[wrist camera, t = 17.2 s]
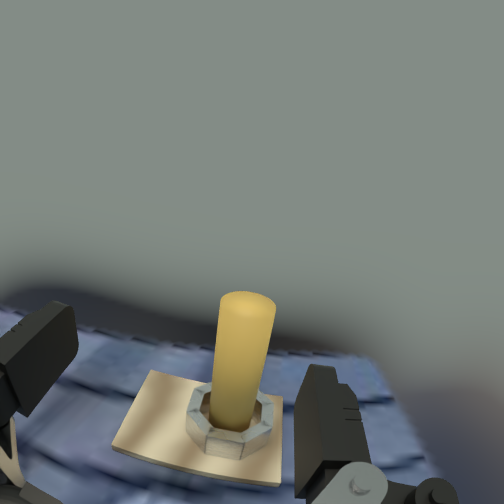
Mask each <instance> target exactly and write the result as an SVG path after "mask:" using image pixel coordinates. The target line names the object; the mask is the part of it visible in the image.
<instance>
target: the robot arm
mask: <svg viewBox="0 0 504 504" xmlns="http://www.w3.org/2000/svg"><path fill="white" fill-rule="evenodd" d="M78 346H79V342H78V335H77V329H76V322H75V315H74V310H73V308H72V307H71V306H68V305H65V304H63V303H60V302H57V301H51V302H50V303H48V304H47V305H46V306H45V307H43V308H42V309H41V310H37V311H35V312H33V313H31V314H28V315H26V316H25V317H24V318H23V319H22V320H21V321H19V322H18V325H17V324H16V325H15V326H13V327H12V328H11V331H8V332H7V333H5V334H4V335H3V336H2V337H1V338H0V504H63V503H62V502H61V501H59V500H58V499H56V498H54V497H52V496H50V495H49V494H47V493H45V492H43V491H42V490H40V489H38V488H37V487H35V486H33V485H32V484H30V483H28V482H27V481H26V482H25V480H24V477H23V475H22V473H21V471H20V468H19V464H18V456H17V446H16V435H15V421H14V417H13V414H14V413H15V412H16V411H17V412H19V413H20V414H22V415H24V416H25V417H27V418H28V416H29V415H30V414H31V412H32V411H33V410H34V408H35V407H36V406H37V405H38V403H39V402H40V401H41V399H42V398H43V397H44V395H45V394H46V393H47V392H48V390H49V389H50V388H51V387H52V385H53V384H54V383H55V381H56V380H57V379H58V378H59V376H60V375H61V374H62V373H63V372H64V370H65V369H66V368H67V367H68V365H69V364H70V363H71V362H72V361H73V359H74V358H75V356H76V354H77V351H78ZM361 420H362V418H361V414H360V412H359V406H358V402H357V397H356V395H355V394H354V392H353V391H352V390H351V388H350V387H349V386H348V384H340V383H338V379H337V375H336V370H335V368H334V367H332V366H323V365H316V364H310V366H309V367H308V370H307V372H306V375H305V377H304V380H303V383H302V385H301V388H300V390H299V393H298V395H297V398H296V402H295V407H294V460H295V498H299V499H306V504H459V501H458V497H457V494H456V491H455V489H454V487H453V486H452V485H451V484H450V483H449V482H447V481H446V480H444V479H441V478H429V479H426V480H424V481H423V482H422V483H421V484H420V485H418V486H417V487H416V486H411V485H405V484H400V483H395V482H392V481H389V480H387V479H386V477H385V475H384V473H383V472H382V471H381V470H380V469H379V468H377V467H376V466H374V465H372V463H371V459H370V454H369V450H368V445H367V440H366V436H365V431H364V427H363V423H362V422H361Z"/></svg>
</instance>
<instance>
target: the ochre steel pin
mask: <svg viewBox="0 0 504 504" xmlns="http://www.w3.org/2000/svg"><path fill="white" fill-rule="evenodd" d="M275 312H276V306H275V304H274V303H273V301H271V300H270V299H268V298H267V297H265V296H263V295H260V294H257V293H253V292H246V291H237V292H231V293H228V294H226V295H224V296H223V297H222V298H221V302H220V311H219V320H218V329H217V338H216V347H215V357H214V366H213V376H212V386H211V397H210V407H209V418H208V422H209V423H210V424H211V425H212V426H213V427H214V428H218V429H223V430H228V431H234V432H239V433H241V432H243V431H245V430H247V429H249V426H250V422H251V418H252V414H253V410H254V406H255V401H256V397H257V393H258V389H259V384H260V380H261V376H262V371H263V367H264V363H265V358H266V354H267V349H268V345H269V340H270V335H271V331H272V326H273V321H274V316H275Z"/></svg>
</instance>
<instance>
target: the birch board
mask: <svg viewBox="0 0 504 504" xmlns="http://www.w3.org/2000/svg"><path fill="white" fill-rule="evenodd" d="M204 384H207V383H202V382H198V381H193V380H189V379H185V378H181V377H176V376H172V375H169V374H165V373H161V372H157V371H154V370H150V372H149V374H148V376H147V378H146V380H145V381H144V383H143V385H142V387H141V389H140V391H139V393H138V395H137V396H136V398H135V400H134V402H133V404H132V406H131V408H130V410H129V412H128V413H127V415H126V417H125V419H124V421H123V423H122V425H121V427H120V429H119V431H118V433H117V435H116V437H115V438H114V440H113V442H112V444H111V445H112V449H113V450H115V451H118V452H121V453H123V454H126V455H129V456H132V457H135V458H138V459H141V460H144V461H147V462H151V463H154V464H157V465H161V466H164V467H168V468H172V469H176V470H179V471H183V472H188V473H192V474H196V475H201V476H206V477H211V478H216V479H221V480H227V481H233V482H240V483H247V484H254V485H263V486H272V487H279V485H280V483H281V457H282V408H283V397H282V396H274V395H268V394H264V395H265V396H267V397H268V398H269V399H270V400H271V401H272V402H273V403H274V412H273V428H272V430H271V433H270V436H269V439H268V441H267V444H266V446H265V447H263V448H262V449H260V450H258V451H256V452H255V453H253V454H251V455H249V456H248V457H246V458H244V459H242V460H239V461H238V460H232V459H226V458H221V457H215V456H210V455H206V454H205V453H203V452H202V451H201V450H200V448H199V447H198V446H197V445H196V444H195V442H194V441H193V440H192V439H191V437H190V436H189V435H188V434H187V432H186V410H187V407H188V404H189V402H190V399H191V396H192V393H193V390H194V389H195V388H196V387H199V386H202V385H204ZM202 415H203V416H204V417H205V418H206V419H207V421H208V418H209V411H208V412H206V413H203V414H202ZM255 425H257V424H256V423H255V422H254V421H253V420H252V419H251V422H250V426H249V428H251V427H253V426H255Z"/></svg>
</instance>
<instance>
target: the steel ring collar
mask: <svg viewBox="0 0 504 504" xmlns="http://www.w3.org/2000/svg"><path fill="white" fill-rule="evenodd" d="M211 386H212V382H210V383H207V384H204V385H202V386H199V387H196V388H195V389H194V390H193V393H192V396H191V399H190V402H189V404H188V407H187V410H186V432H187V434H188V435H189V436H190V437H191V439H192V440H193V441H194V442H195V444H196V445H197V446H198V447H199V448H200V450H201V451H202V452H203V453H205V454H206V455H210V456H215V457H221V458H226V459H232V460H238V461H239V460H242V459H244V458H246V457H248V456H249V455H251V454H253V453H255V452H256V451H258V450H260V449H262V448H263V447H265V446H266V444H267V441H268V439H269V436H270V433H271V430H272V428H273V412H274V403H273V402H272V401H271V400H270V399H269V398H268V397H267V396H265V395H264V394H263V393H262V392H261V391H260V390H259V389H258V393H257V397H256V401H255V406H254V410H253V414H252V418H251V419H252V420H253V421H254V422H255V423H256V424H257V425H255V426H253V427H251V428H249V429H247V430H245V431H243V432H241V433H239V432H234V431H228V430H223V429H218V428H214V427H213V426H212V425H211V424H210V423H209V422H208V421H207V419H206V418H205V417H204V416H203V415H202V414H203V413H206V412H208V411H209V407H210V397H211Z"/></svg>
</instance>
